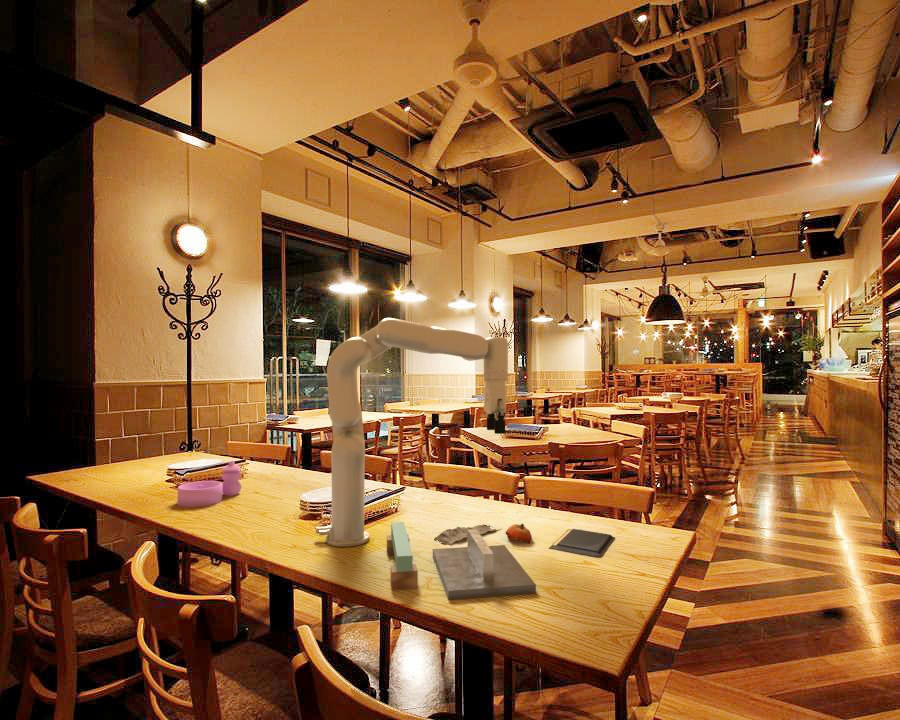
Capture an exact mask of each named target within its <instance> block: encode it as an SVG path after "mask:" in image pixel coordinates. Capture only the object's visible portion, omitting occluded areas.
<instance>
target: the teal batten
mask: <svg viewBox="0 0 900 720" xmlns="http://www.w3.org/2000/svg"><path fill="white" fill-rule="evenodd" d="M390 527H391V528H390V530H391V532H390V533H391V534H390V535H391V537H392V543H393V549H394V555H393V556H394V561H395V565H396V569H397V572H405V571H412V564H413V552H412V549H411V545H410V539H409V540H408V536H407V528H406V525H405V522H404V521H402V522H401V521H400V522H391V523H390Z"/></svg>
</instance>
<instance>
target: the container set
mask: <svg viewBox="0 0 900 720" xmlns="http://www.w3.org/2000/svg"><path fill="white" fill-rule="evenodd" d="M222 471H223V473H222V474H221V480H223V481H224V482H222V481H218V480H201V481H200V480H199V481H193V482H191V481H190V482H187V483H183V484H180V485H178V486H177V502H176V503H177V506H179V507H181V508H199V507H200V508H201V507H207V506H213V505H215V504H218V503H221V502H222V501H223V495H224V496H229V497H230V496H236V495H239V493H240V492H241V490H242V484H241V482H240V481H239V480H240V479H241V478H242V473H241V465H238V464H236V463H235V461H232V460H231V461H228V464H227V465H225V466H223V468H222Z"/></svg>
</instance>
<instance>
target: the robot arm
mask: <svg viewBox="0 0 900 720" xmlns="http://www.w3.org/2000/svg"><path fill="white" fill-rule="evenodd" d="M508 343H509V342H508V340H507V338H506V337H501V336H498V337H497V336H493V337H492V336H491V337H486V338H484V337H483V336H482V335H479V334H476V333H470V332H465V331H460V330H455V329H449V328H444V327H443V328H442V327H439V326H433V325H427V324H423V323H417V322H413V321H409V320H403V319H400V318H399V319H398V318H394V317H393V318H392V317H386V318H383V319H382V320H380V321H379V322H378V324H377V325H375V326H374V327H373V328H370V330H368V331H365V332H364V333H363V334H361V335H359V336H354V337H350V338H348V339H346V340H344V341H343V342H341V343H340V344H339V345H338V346H337V347H336V348H335V349H334V350H333V351H332V353H331V355H330V357H329V360H328V363H327V368H326V377H327V378H326V379H327V380H326V381H327V393H328V404H329V406H328V407H329V408H328V409H329V410H328V411H329V412H328V416H329V419H330V420H331V427H332V435H333V436H332V437H333V438H332V439H333V442H332V445H331V446H332V447H331V455H330V459H331V522H330V525H327V526H316V528H315V534H316V535H319V536H326V537H325V542H326V544H328V545H330V546H333V547H339V548H340V547H341V548H344V547H345V548H346V547H347V548H348V547H354V546H360V545H362V544H365V543H367V542H368V541H369V540H370V533H369V532H368V531H365V471H366V469H365V467H366V465H365V463H366V462H365V459H366V441H365V434H364V424H363V423H364V422H363V411H362V405H361V403H360V401H359V394H358V393H359V392H358V383H357V371H358V368H359V367H361V366H364V365H366V364H368V363H369V362H371V361H372V360H374V359H376V358H378V356H380V355H381V354H383V353H385V352H387V351H389V350H390V349H392V348H396V349H404V350H408V351H411V352H413V351H414V352H417V353H418V352H419V353H424V354H431V355H433V354H439V355H440V354H442V355H449V356H454V357H460V358H462V359H464V360H465V361H479V360H480V361H481V360H483V382H485V385H484V394H483V395H484V398H483V399H484V400H483V411H484V412H485V413H486V430H487V431H494V434H495V435H498V434H499V435H501V434H502V435H503V434H506V412H507V391H506V389H507V388H506V387H507V386H506V383H507V382H508V381H509V380H508V379H509V360H508V359H509V355H508V354H509V345H508Z"/></svg>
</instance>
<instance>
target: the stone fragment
mask: <svg viewBox="0 0 900 720" xmlns="http://www.w3.org/2000/svg"><path fill="white" fill-rule="evenodd" d="M489 526H490V525H489ZM489 526H487V525H485V524H478V525H477V524H476V525H475V526H472V527H470V526H468V527H465V526H463V527H461V526H457V527H454V528H451V529H450V528H447V529H446V530H443V531H441V532H440V534H438V535H437V536H435V537H434V538H433V539H434V540H433V541H436V540H438V541H439V542H438V541H437V542H438V543H440V542H442V543H441V544H444V545H445V544H447V545H450V546H451V545H453V544H454V543H456V541H461V540H463V539H464V538H468V530H472V529H477V531H478V532H479V534H480V535H483V534H486V533H487V532H493V531H497V530H496V529H497V528H495V529H491V528H490V527H489ZM447 545H446V546H447Z"/></svg>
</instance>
